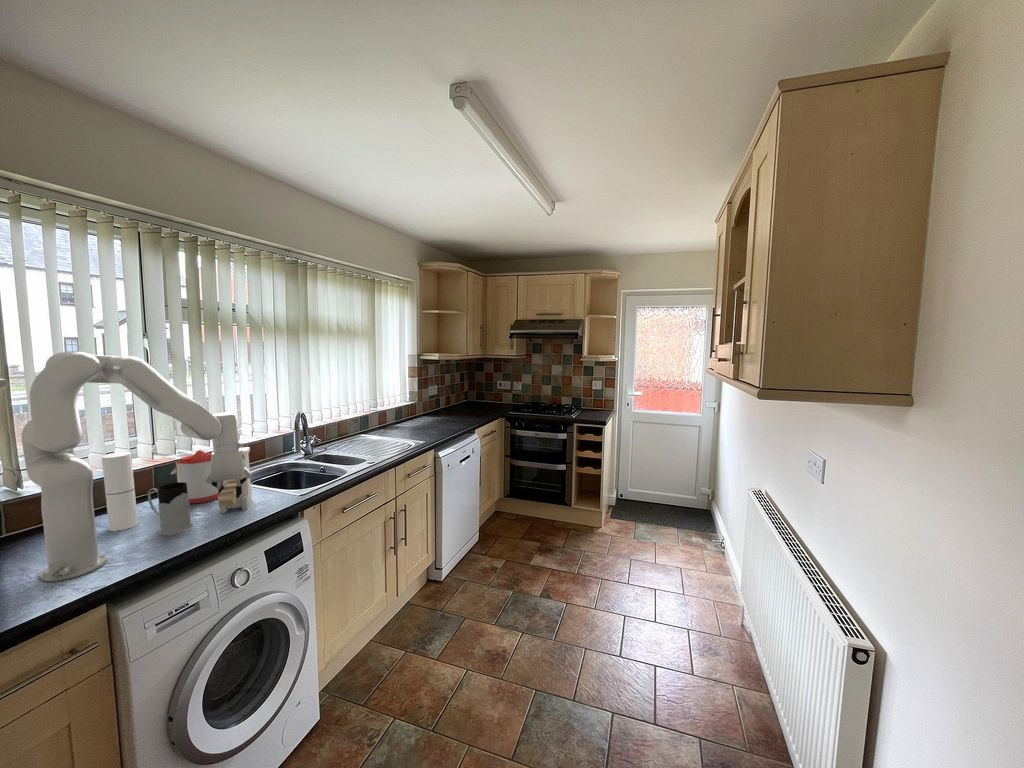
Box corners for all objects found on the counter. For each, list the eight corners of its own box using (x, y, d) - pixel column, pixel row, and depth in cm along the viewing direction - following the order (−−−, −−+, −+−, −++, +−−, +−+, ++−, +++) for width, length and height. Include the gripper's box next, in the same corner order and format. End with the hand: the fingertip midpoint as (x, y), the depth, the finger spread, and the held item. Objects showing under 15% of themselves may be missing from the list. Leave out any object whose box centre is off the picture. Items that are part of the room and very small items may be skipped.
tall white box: (248, 509, 155) (244, 453, 153) (218, 513, 152) (214, 456, 150) (253, 500, 165) (249, 446, 163) (225, 503, 161) (221, 449, 159)
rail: (232, 505, 142) (231, 493, 142) (219, 507, 141) (217, 495, 140) (242, 489, 157) (241, 479, 157) (229, 491, 156) (228, 481, 155)
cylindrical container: (120, 532, 137) (112, 458, 135) (103, 530, 139) (95, 457, 136) (143, 523, 144) (136, 452, 142) (127, 521, 146) (120, 451, 143)
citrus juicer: (179, 496, 170) (175, 448, 168) (230, 489, 177) (226, 444, 175) (167, 509, 156) (162, 457, 154) (222, 502, 163) (218, 452, 161)
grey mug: (174, 536, 134) (170, 491, 133) (138, 533, 136) (133, 488, 135) (199, 524, 143) (195, 482, 141) (164, 522, 145) (160, 480, 144)
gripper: (255, 442, 154) (259, 490, 155) (200, 448, 147) (205, 498, 149) (252, 447, 147) (256, 497, 149) (194, 453, 140) (199, 505, 142)
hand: (230, 497), depth 149 cm, fingers closed on rail, 4 cm apart
